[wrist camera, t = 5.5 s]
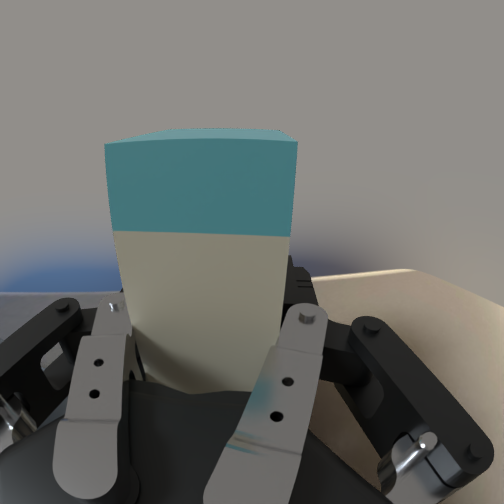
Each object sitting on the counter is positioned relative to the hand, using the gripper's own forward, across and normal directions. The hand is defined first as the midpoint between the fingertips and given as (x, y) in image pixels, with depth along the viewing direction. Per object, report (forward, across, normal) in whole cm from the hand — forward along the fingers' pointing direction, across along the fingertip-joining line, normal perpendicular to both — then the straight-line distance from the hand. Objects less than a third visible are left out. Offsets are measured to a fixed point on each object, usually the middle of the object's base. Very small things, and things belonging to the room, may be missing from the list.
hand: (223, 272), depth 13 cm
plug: (-3, 0, +8) cm, 8 cm away
